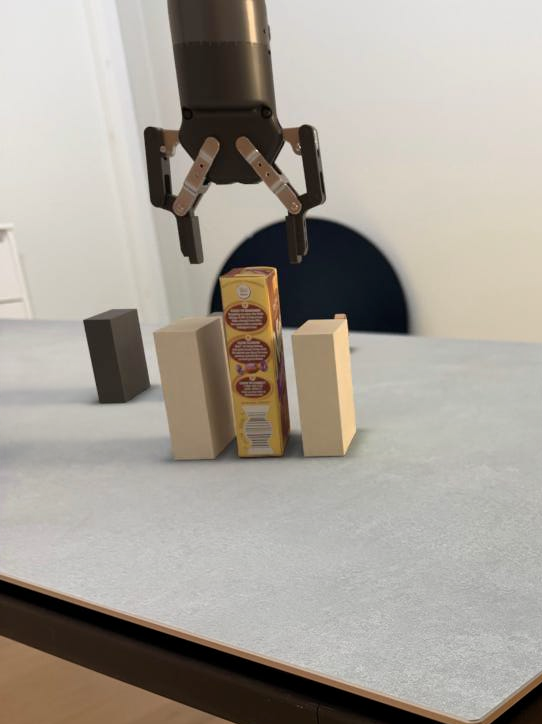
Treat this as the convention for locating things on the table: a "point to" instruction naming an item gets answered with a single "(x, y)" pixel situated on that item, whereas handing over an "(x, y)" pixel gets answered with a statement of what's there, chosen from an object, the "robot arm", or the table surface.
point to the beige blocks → (214, 395)
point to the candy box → (256, 360)
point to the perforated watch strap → (341, 316)
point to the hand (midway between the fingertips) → (246, 263)
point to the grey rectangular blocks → (120, 354)
